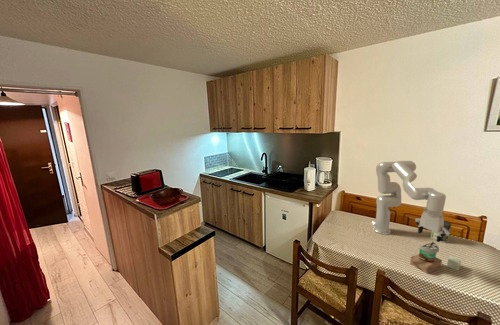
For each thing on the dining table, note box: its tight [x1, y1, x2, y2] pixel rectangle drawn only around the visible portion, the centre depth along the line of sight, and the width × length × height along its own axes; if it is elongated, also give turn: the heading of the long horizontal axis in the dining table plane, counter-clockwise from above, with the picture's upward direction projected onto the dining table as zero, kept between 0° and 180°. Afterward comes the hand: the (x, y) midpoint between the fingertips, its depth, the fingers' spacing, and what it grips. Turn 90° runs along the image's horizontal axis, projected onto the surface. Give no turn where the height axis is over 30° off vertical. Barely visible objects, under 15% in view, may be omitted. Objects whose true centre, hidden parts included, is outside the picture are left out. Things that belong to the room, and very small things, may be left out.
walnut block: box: [410, 253, 443, 274], centre depth 124 cm, size 9×14×5 cm, turn 109°
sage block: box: [446, 255, 462, 271], centre depth 122 cm, size 5×5×5 cm
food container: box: [418, 241, 440, 262], centre depth 121 cm, size 12×6×10 cm, turn 108°
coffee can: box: [430, 220, 452, 244], centre depth 149 cm, size 10×10×14 cm
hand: (429, 236), depth 121 cm, fingers open, 9 cm apart
